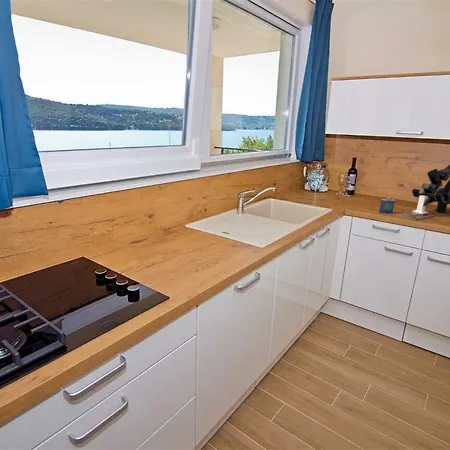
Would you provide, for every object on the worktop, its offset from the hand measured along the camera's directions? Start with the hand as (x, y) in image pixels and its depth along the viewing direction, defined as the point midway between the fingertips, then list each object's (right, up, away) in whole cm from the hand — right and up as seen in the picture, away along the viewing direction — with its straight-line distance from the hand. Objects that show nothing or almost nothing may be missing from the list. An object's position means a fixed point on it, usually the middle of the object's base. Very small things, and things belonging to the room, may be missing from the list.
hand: (420, 205), depth 214 cm
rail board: (-3, -7, +1) cm, 8 cm away
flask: (-19, -5, +7) cm, 21 cm away
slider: (+1, -5, +2) cm, 5 cm away
